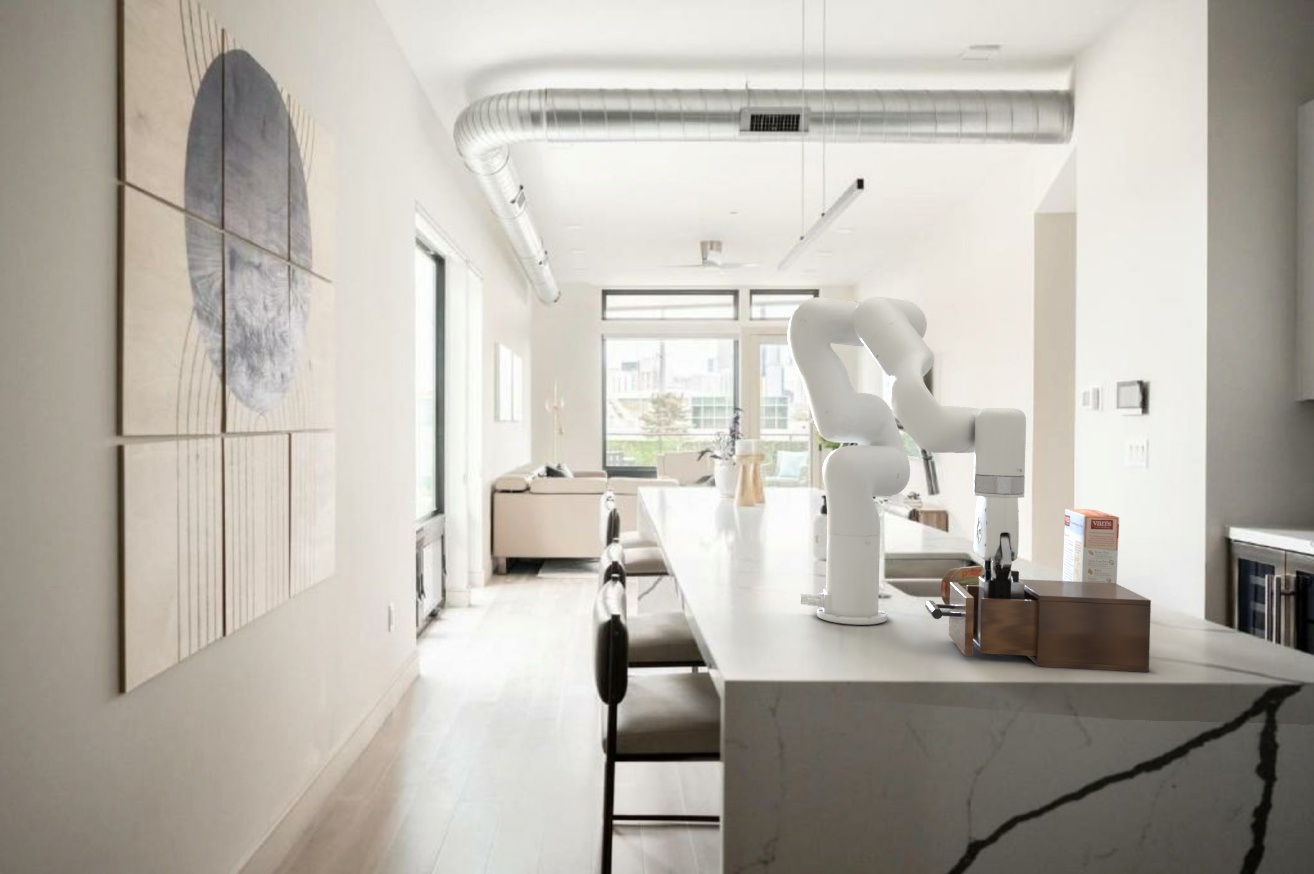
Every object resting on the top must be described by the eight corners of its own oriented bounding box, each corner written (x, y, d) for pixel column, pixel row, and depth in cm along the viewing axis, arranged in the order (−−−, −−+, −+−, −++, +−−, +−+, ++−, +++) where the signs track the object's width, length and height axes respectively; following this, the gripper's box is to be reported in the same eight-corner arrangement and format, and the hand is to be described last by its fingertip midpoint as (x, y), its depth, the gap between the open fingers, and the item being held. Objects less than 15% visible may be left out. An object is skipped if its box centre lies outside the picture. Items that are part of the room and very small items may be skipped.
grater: (982, 642, 143) (984, 571, 143) (977, 636, 147) (979, 567, 147) (1023, 644, 142) (1024, 573, 142) (1016, 638, 146) (1018, 569, 146)
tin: (949, 613, 174) (950, 569, 174) (937, 610, 177) (938, 567, 177) (1005, 607, 181) (1006, 565, 181) (993, 604, 184) (994, 562, 183)
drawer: (934, 653, 139) (935, 596, 139) (921, 633, 153) (922, 581, 152) (1065, 660, 137) (1066, 601, 137) (1040, 639, 150) (1041, 586, 150)
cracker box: (1117, 639, 155) (1121, 516, 155) (1079, 637, 156) (1082, 514, 156) (1095, 622, 169) (1098, 508, 168) (1060, 620, 170) (1063, 507, 170)
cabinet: (1037, 666, 137) (1039, 595, 136) (1013, 643, 151) (1015, 579, 151) (1149, 672, 135) (1151, 600, 134) (1113, 648, 149) (1115, 583, 149)
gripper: (963, 482, 153) (961, 592, 153) (985, 489, 136) (982, 612, 137) (1010, 484, 152) (1007, 594, 152) (1038, 491, 135) (1035, 615, 136)
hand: (995, 601), depth 144 cm, fingers closed on grater, 4 cm apart
